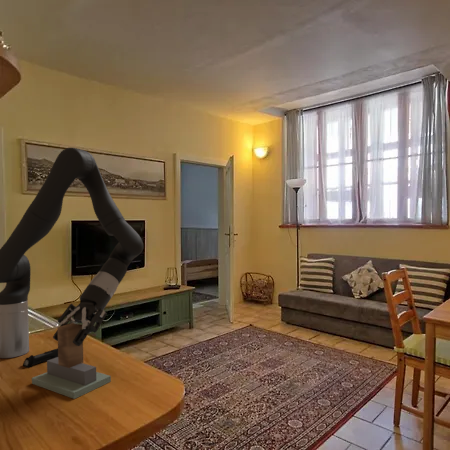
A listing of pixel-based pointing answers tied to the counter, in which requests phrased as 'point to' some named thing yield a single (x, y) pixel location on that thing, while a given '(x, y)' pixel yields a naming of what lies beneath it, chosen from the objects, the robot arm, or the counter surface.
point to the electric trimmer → (40, 358)
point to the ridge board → (69, 385)
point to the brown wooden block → (69, 346)
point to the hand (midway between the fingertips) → (65, 342)
